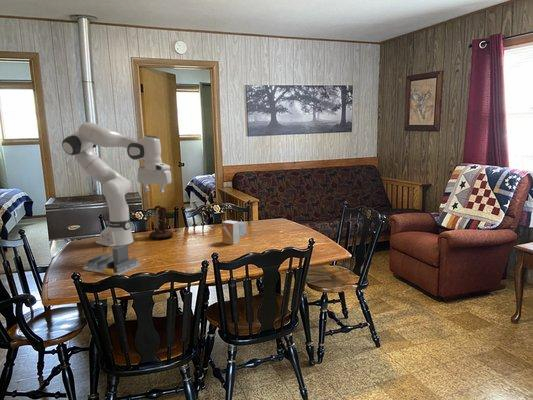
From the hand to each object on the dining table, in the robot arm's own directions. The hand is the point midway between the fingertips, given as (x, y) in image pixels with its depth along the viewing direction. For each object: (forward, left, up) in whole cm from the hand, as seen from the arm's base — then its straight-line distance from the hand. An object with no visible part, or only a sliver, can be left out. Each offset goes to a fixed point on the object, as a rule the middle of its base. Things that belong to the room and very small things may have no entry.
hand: (154, 191), depth 213 cm
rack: (-6, -28, -34) cm, 44 cm away
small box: (+28, +32, -34) cm, 55 cm away
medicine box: (+26, +48, -34) cm, 65 cm away
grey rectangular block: (0, -28, -33) cm, 43 cm away
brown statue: (-19, +27, -34) cm, 48 cm away
